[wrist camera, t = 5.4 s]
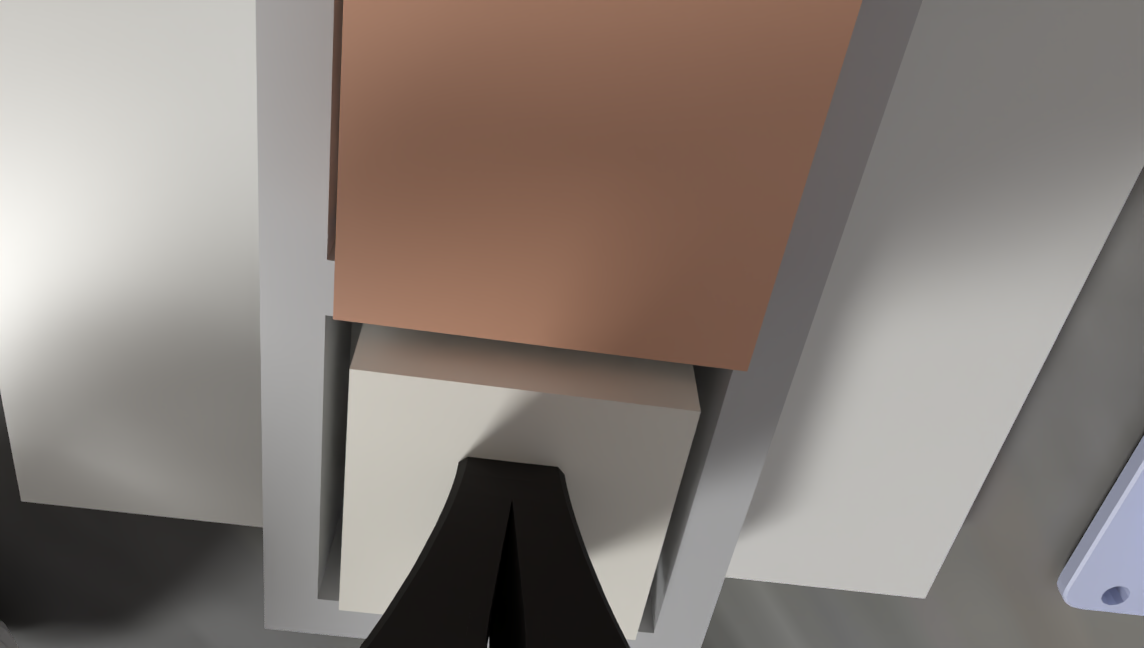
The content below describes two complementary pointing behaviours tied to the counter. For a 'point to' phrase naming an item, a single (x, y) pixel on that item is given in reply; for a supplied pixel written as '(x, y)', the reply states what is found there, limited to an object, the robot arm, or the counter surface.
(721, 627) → the counter surface
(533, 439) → the key ivory
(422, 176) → the key terracotta
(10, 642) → the light bulb
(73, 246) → the keypad
